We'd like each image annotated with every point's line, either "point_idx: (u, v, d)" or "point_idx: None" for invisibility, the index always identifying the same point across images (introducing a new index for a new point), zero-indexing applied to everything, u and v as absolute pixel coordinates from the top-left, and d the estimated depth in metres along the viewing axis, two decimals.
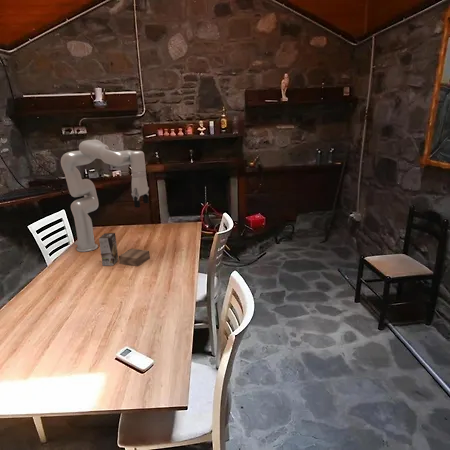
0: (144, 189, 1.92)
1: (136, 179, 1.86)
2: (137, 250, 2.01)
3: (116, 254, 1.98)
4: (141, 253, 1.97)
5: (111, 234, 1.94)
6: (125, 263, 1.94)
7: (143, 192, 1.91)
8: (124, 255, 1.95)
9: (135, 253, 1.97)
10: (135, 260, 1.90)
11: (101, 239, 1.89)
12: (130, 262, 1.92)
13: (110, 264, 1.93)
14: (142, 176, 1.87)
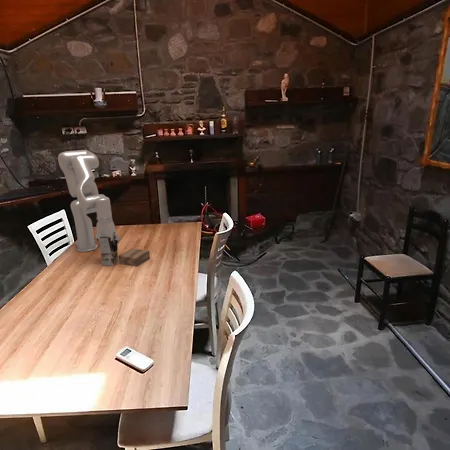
0: None
1: (113, 223, 1.90)
2: (137, 250, 2.01)
3: (116, 254, 1.98)
4: (141, 253, 1.97)
5: None
6: (125, 263, 1.94)
7: None
8: (124, 255, 1.95)
9: (135, 253, 1.97)
10: (135, 260, 1.90)
11: (101, 239, 1.89)
12: (130, 262, 1.92)
13: (110, 264, 1.93)
14: None
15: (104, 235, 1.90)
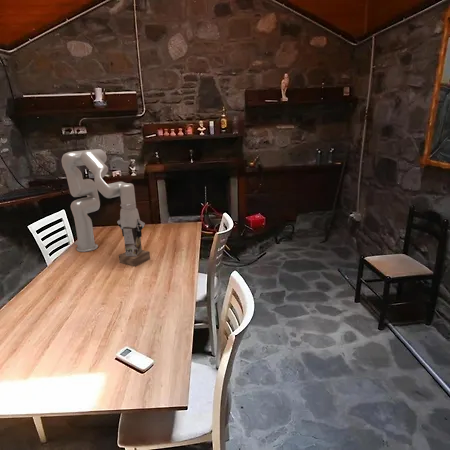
0: None
1: (136, 210, 1.89)
2: None
3: (140, 245, 1.98)
4: (141, 253, 1.97)
5: None
6: (124, 263, 1.95)
7: None
8: (123, 255, 1.95)
9: None
10: (133, 260, 1.90)
11: (125, 229, 1.89)
12: (129, 262, 1.92)
13: (133, 255, 1.93)
14: None
15: (128, 222, 1.89)
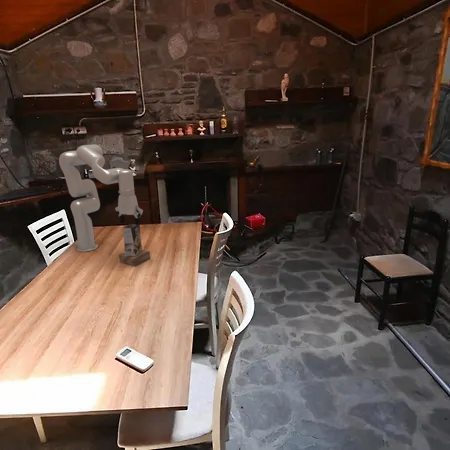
0: None
1: (135, 197, 1.87)
2: None
3: (140, 245, 1.97)
4: (141, 253, 1.97)
5: (135, 225, 1.94)
6: (124, 262, 1.95)
7: None
8: (124, 254, 1.96)
9: None
10: (133, 260, 1.90)
11: (124, 229, 1.89)
12: (129, 261, 1.93)
13: (132, 255, 1.93)
14: None
15: (126, 209, 1.87)
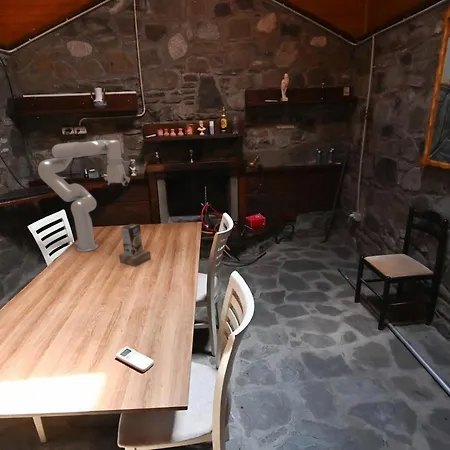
0: None
1: (122, 165, 2.00)
2: None
3: (139, 246, 1.96)
4: (141, 253, 1.97)
5: (135, 225, 1.93)
6: (125, 262, 1.95)
7: None
8: None
9: None
10: (133, 260, 1.90)
11: (123, 229, 1.89)
12: (129, 261, 1.93)
13: (130, 255, 1.92)
14: None
15: (114, 177, 2.00)
